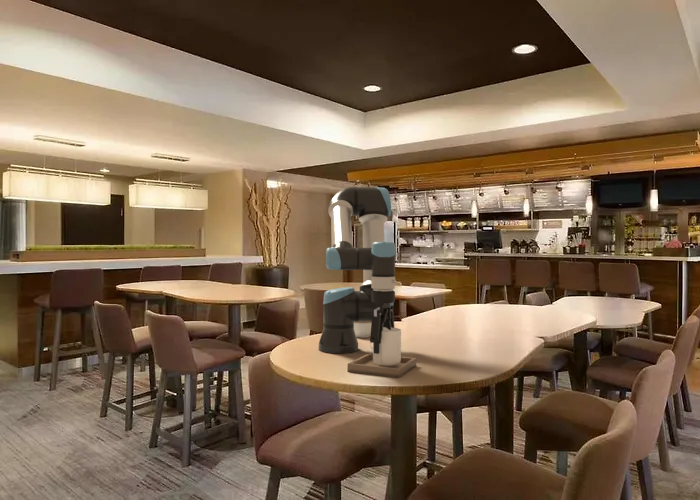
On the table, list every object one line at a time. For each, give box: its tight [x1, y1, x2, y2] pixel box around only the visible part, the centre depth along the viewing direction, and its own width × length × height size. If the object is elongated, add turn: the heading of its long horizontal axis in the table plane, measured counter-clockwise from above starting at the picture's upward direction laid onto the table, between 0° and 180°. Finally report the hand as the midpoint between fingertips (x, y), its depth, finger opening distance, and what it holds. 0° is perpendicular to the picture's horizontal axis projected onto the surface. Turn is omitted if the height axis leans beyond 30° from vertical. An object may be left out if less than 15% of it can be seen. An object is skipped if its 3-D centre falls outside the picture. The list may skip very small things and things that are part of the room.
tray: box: [346, 353, 417, 379], centre depth 160 cm, size 17×17×2 cm
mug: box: [369, 327, 402, 366], centre depth 161 cm, size 9×12×11 cm
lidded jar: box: [354, 322, 372, 339], centre depth 219 cm, size 11×11×9 cm
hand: (382, 360), depth 160 cm, fingers closed on mug, 8 cm apart
